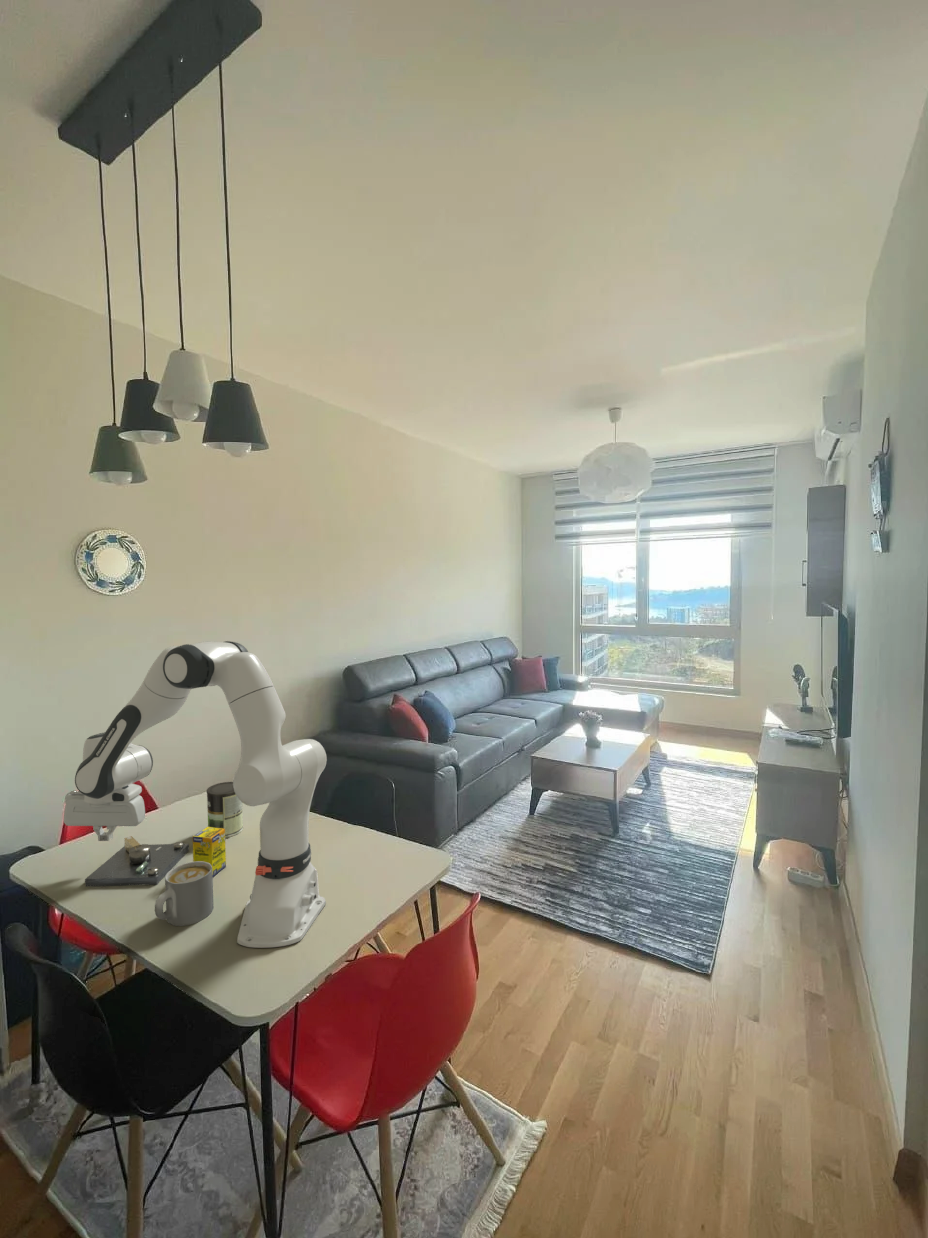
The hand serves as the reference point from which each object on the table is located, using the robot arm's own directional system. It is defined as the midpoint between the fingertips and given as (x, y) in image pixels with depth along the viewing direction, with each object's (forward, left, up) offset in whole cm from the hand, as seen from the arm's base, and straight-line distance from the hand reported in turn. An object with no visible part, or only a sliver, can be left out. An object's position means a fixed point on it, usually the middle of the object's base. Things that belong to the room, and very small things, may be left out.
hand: (105, 840), depth 148 cm
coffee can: (+20, -24, -8) cm, 33 cm away
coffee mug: (-24, -31, -8) cm, 40 cm away
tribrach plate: (-1, -9, -8) cm, 12 cm away
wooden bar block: (+2, -7, -5) cm, 9 cm away
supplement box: (-4, -29, -8) cm, 31 cm away
